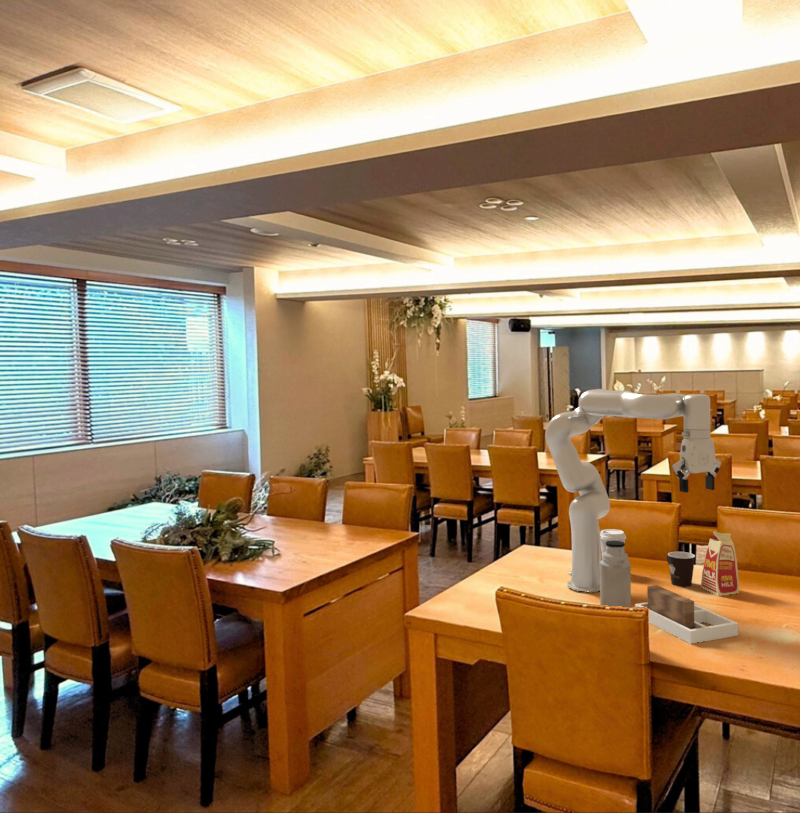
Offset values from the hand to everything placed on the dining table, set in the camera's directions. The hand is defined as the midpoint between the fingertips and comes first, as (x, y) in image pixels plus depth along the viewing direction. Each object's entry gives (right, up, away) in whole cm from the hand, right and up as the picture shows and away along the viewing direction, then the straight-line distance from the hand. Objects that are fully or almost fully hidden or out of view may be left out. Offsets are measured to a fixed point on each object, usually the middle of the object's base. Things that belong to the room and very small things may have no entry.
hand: (697, 490), depth 224 cm
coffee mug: (+5, -35, +27) cm, 44 cm away
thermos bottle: (-32, -39, -25) cm, 56 cm away
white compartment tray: (-9, -37, -13) cm, 40 cm away
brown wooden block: (-13, -38, -14) cm, 42 cm away
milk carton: (+15, -35, +17) cm, 42 cm away
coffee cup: (-14, -35, +40) cm, 55 cm away
